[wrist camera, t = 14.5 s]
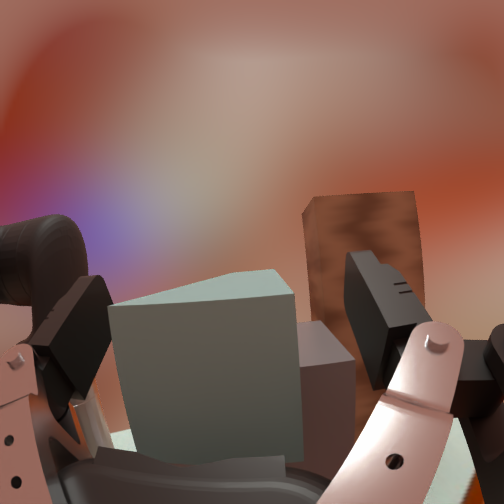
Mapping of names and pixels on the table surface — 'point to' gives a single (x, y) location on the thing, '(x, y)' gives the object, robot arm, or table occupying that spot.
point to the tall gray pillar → (324, 400)
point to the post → (358, 239)
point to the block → (212, 370)
